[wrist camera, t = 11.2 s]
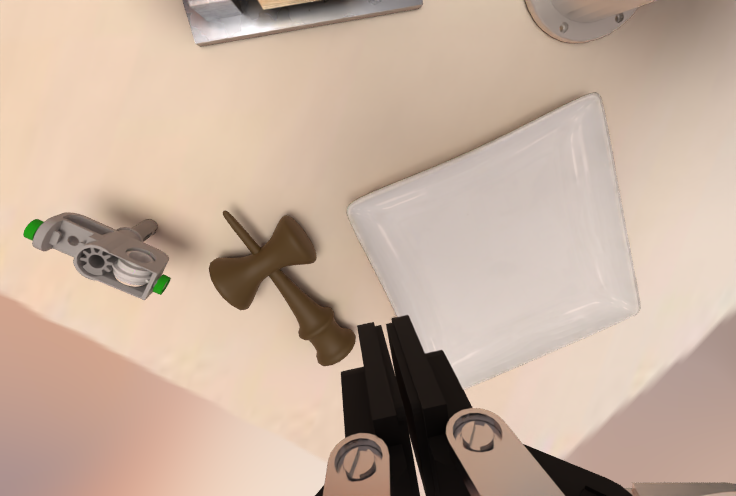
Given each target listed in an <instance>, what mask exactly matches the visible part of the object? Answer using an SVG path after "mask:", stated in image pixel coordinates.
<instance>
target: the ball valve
mask: <svg viewBox="0 0 736 496" xmlns="http://www.w3.org/2000/svg"><path fill="white" fill-rule="evenodd" d="M183 4H184V7H185V10H186V14H187V17H188V21H189V24H190V27H191V31H192V34H193V37H194V41H195V44H197V45H199V46H200V47H201V46H207V45H213V44H219V43H224V42H230V41H236V40H242V39H247V38H253V37H259V36H265V35H271V34H276V33H282V32H288V31H294V30H299V29H305V28H311V27H317V26H323V25H328V24H334V23H340V22H346V21H351V20H357V19H363V18H369V17H375V16H380V15H386V14H392V13H398V12H403V11H409V10H415V9H419V8H420V7H421V6H422V5H423V1H422V0H183Z"/></svg>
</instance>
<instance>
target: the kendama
mask: <svg viewBox="0 0 736 496" xmlns="http://www.w3.org/2000/svg"><path fill="white" fill-rule="evenodd" d="M223 215H224V217H225V219H226V220H227V222H228V223H229V224H230V226H231V227H232V228H233V230H234V231H235V232H236V233H237V235H238V236H239V237H240V239H241V240H242V241H243V242H244V244H245V245H246V246H247V248H248V249H249V250H250V251H251V253H252V254H251V255H248V256H245V257H239V258H216V259H215V260H214V261H212V262H211V263H210V267H209V272H210V277H211V280H212V282H213V284H214V286H215V288H216V289H217V291H218V292H219V293H220V295H221V296H222V297H223V298H224V299H225V300H226V301H227V302H228V303H229V304H231V305H232V306H234V307H236V308H238V309H239V310H246V309H248V308H249V306H250V305H251V303H252V301H253V299H254V297H255V294H256V292H257V289H258V287H259V285H260V283H261V282H262V281H263V280H264V279H265V278H266V277H268V276H269V277H270V278H271V279H272V281H273V282H274V284H275V285H276V286H277V288H278V289H279V291H280V292H281V294H282V295H283V297H284V298H285V300H286V302H287V303H288V305H289V306H290V308H291V310H292V311H293V313H294V315H295V317H296V318H297V321H298V323H299V326H300V328H299V337H300V338H302V339H304V340H309V341H310V342H311V343H312V344H313V346H314V347H315V349H316V350H317V355H316V357H317V360H318V363H319V364H321V365H323V366H329V365H333V364H336V363H338V362H340V361H341V360H342V359H344V358H345V357H346V356H347V355H348V354H349V353H350V351H351V350H352V349H353V346H354V344H355V339H356V336H355V334H354V332H353V331H352V330H351V329H348V328H341V327H340V326H339V325H338V324H337V323H336V321H335V320H334V311H333V310H332V308H329V307H322V306H320V305H318V304H317V303H316V302H314V301H313V300H312V299H311V298H310V297H309V296H307V295H306V294H305V293H304V292H303V291H302V290H301V289H300V288H299V287H298V286H297V285H296V284H294V283H293V282H292V281H291V280H290V279H289V278H288V277H287V276H286V275H285V274H284V273H283V271H282V270H281V268H283V267H286V266H291V265H301V264H311V263H314V262H315V261H316V252H315V249H314V247H313V245H312V243H311V241H310V239H309V238H308V236H307V235H306V233H305V232H304V230H303V229H302V228H301V227H300V225H299V224H298V223H297V222H296V221H295V220H294V219H293V218H291V217H290V216H287V215H285V216H283V217H282V218H281V219H280V221H279V223H278V225H277V227H276V229H275V231H274V233H273V235H272V237H271V238H270V240H269V241H268V242H267V243H266V244H265V245H264V246H263V247H260V246H259V245H258V244H257V243H256V242H255V241H254V240H253V238H252V237H251V236H250V235H249V234H248V233H247V232H246V230H245V229H244V228H243V227H242V226H241V225H240V224H239V223H238V221H237V220H236V219H235V218H234V217H233V216H232V215H231V214H230V213H229V212H227V211H223Z"/></svg>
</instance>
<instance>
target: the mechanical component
mask: <svg viewBox="0 0 736 496" xmlns="http://www.w3.org/2000/svg"><path fill="white" fill-rule="evenodd" d="M157 226H158V225H157V223H156V222H155V221H153V220H151V219H147V220H145V221H143V222H141V223H140V224H138V225H136V226H135V227H133V228H127V227H123V228H119V229H117V230H115V229H112V228H110V227H108V226H106V225H104V224H102V223H99V222H97V221H95V220H93V219H91V218H88V217H86V216H84V215H81V214H77V213H62V214H59V215H57V216H54V217H51V218H49V219H47V220H46V221H45V222H43V221H41V220H39V219H35V220H33V221H32V222H30V223H29V224H28V226H27V227H26V228H25V230H24V234H23V235H24V237H26V238H28V239H30V240H33V242H32V244H33V247H35V248H37V249H39V250H42V251H47V250H50V249H52V248H53V249H56V250H58V251H60V252H63V253H65V254H67V255H70V256H72V257H74V260H73V263H74V266H75V268H76V270H77V271H78V272H79V273H80V274H81V275H82V276H84V277H86V278H88V279H91V280H96V281H99V282H102V283H104V284H107V285H109V286H111V287H114V288H116V289H119V290H121V291H123V292H126V293H128V294H131V295H133V296H135V297H138V298H140V299H143V300H145V299H146V298H147V297H148V296H149V295H150V294H151V293H152V292H155V293H157V294H160V295H161V294H162V293H163V292H164V290H165V289H166V287H167V286H168V284H169V282H170V279H171V278H170V277H168V276H166V275H162V273H163V271H164V269H165V267H166V265H167V263H168V261H169V257H168V256H167V255H166V254H165V253H164V252H162V251H161V250H159V249H156V248H154V247H152V246H150V245H148V244H145V243H143V241H145V240H146V239H148V238H149V237H150V236H152V235H153V234H155V232H154V231H155V230H156V229H157ZM161 275H162V276H161ZM115 277H116V278H117V279H119V280H120V281H122V282H125V283H127V284H131V285H142V286H139V287H132V286H127V285H124V284H122V283H120V282H119V281H118V280H117V279H116V278H115Z"/></svg>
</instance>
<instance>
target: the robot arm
mask: <svg viewBox="0 0 736 496" xmlns="http://www.w3.org/2000/svg"><path fill="white" fill-rule="evenodd" d="M525 1H526V4H527V7H528V10H529V12H530V13H531V15H532V17H533V19H534V21H535V22H536V23H537V24H538V25H539V27H540V28H541V29H542V30H543V31H544V32H546V33H547V34H549V35H550V36H551V37H553V38H556V39H558V40H560V41H563V42H569V43H584V42H588V41H592V40H597V39H599V38H602V37H604V36H606V35H609V34H610V33H612V32H613V31H615V30H617V29H618V28H620V27H621V26H622V25H623V24H624V23H625V22H626V21H627V20H628V19H630V18H631V16H632V15H633V14H634V13H635V11H636V10H637V9H638V8H639V6H642V5H645V4H648V3H651V2H654V1H657V0H525ZM559 28H560V29H559ZM386 326H387V332H388V338H389V343H390V349H391V354H392V360H393V366H394V370H393V366H392V363H391V359H390V355H389V352H388V348H387V345H386V341H385V337H384V334H383V330H382V327H381V325H379V326H374V322H372V323H367V324H362V325H357V327H358V333H359V340H360V346H361V352H362V358H363V364H364V367H360V368H356V369H351V370H347V371H342V372H341V383H342V397H343V412H344V426H345V439H343V440H342V441H340V442H339V443H338V444H337V445H336V446H335V447H334V449H333V450H332V452H331V454H330V457H329V460H328V464H327V472H326V478H325V484H324V486H323V487H322V488H321V489H320V491H319V492H318V493H317V494H316V495H315V496H420V493H419V487H418V481H417V476H416V470H415V464H414V459H413V453H412V447H411V442H412V446H413V450H414V453H415V457H416V461H417V465H418V468H419V472H420V476H421V479H422V483H423V487H424V490H425V494H426V496H736V484H732V483H632V488H623V487H622V486H621V485H619V484H617V483H615V482H613V481H611V480H609V479H607V478H605V477H602V476H600V475H598V474H595V473H593V472H590V471H588V470H585V469H583V468H580V467H578V466H575V465H573V464H570V463H568V462H566V461H563V460H561V459H558V458H556V457H554V456H551V455H549V454H546V453H544V452H541V451H539V450H536V449H534V448H532V447H529V446H527V445H524V444H522V442H521V441H520V440H519V439H518V437H517V436H516V435H515V434H514V433H513V431H512V430H511V429H510V428H509V426H508V425H507V424H506V423H505V422H504V421H503V420H502V419H501V418H500V417H499V416H498V415H496V414H495V413H493V412H491V411H488V410H485V409H481V408H472V406H471V404H470V402H469V400H468V398H467V396H466V394H465V392H464V390H463V388H462V386H461V384H460V382H459V380H458V378H457V376H456V374H455V373H454V371H453V369H452V367H451V365H450V363H449V361H448V359H447V357H446V355H445V353H444V351H443V350H438V351H434V352H429V353H425V352H424V350H423V348H422V345H421V343H420V341H419V338H418V336H417V334H416V331H415V329H414V327H413V324H412V322H411V320H410V317H409V315H405V316H400V317H395V318H392V323H389V324H386ZM394 371H395V373H394ZM409 435H410V436H409ZM410 439H411V442H410Z"/></svg>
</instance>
